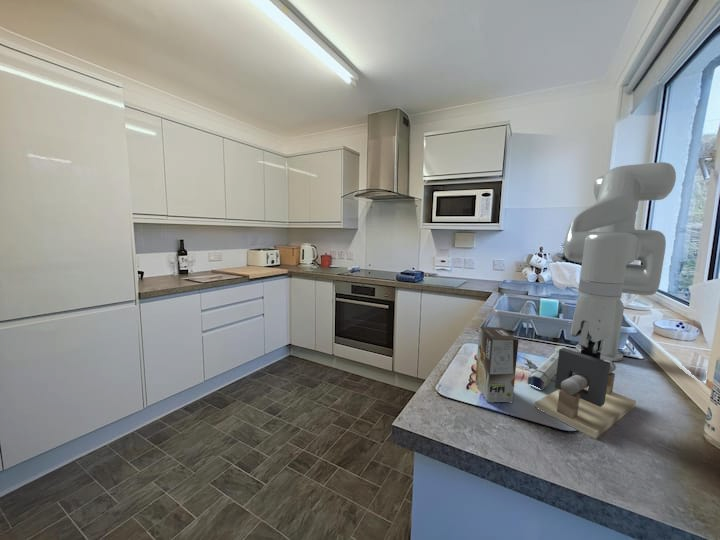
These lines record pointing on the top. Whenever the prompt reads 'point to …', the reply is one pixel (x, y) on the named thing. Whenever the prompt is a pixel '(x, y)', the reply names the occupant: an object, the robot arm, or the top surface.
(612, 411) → the pipe rig
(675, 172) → the robot arm
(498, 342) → the coffee box
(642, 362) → the top surface
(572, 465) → the top surface
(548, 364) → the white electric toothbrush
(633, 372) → the top surface
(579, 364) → the collar
